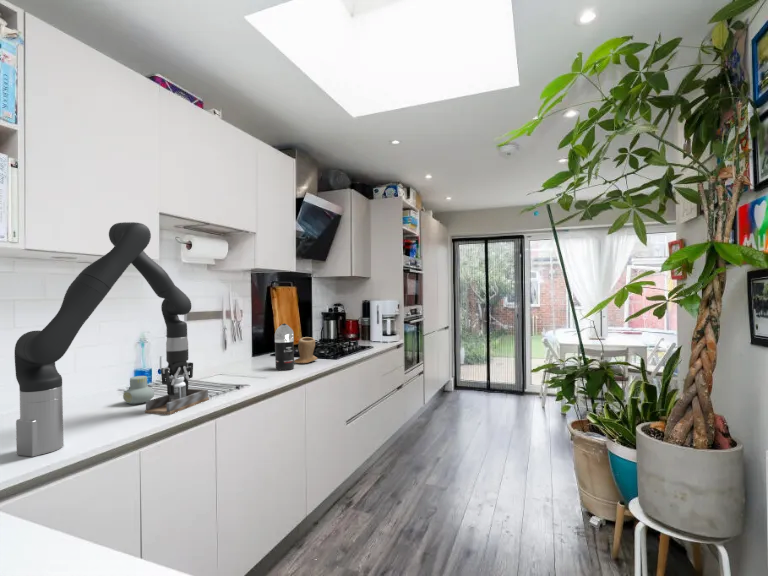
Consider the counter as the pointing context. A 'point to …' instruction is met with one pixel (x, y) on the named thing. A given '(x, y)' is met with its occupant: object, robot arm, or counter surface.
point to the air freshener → (138, 391)
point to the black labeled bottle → (284, 348)
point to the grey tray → (176, 402)
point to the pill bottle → (178, 389)
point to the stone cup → (306, 350)
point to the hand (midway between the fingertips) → (178, 392)
